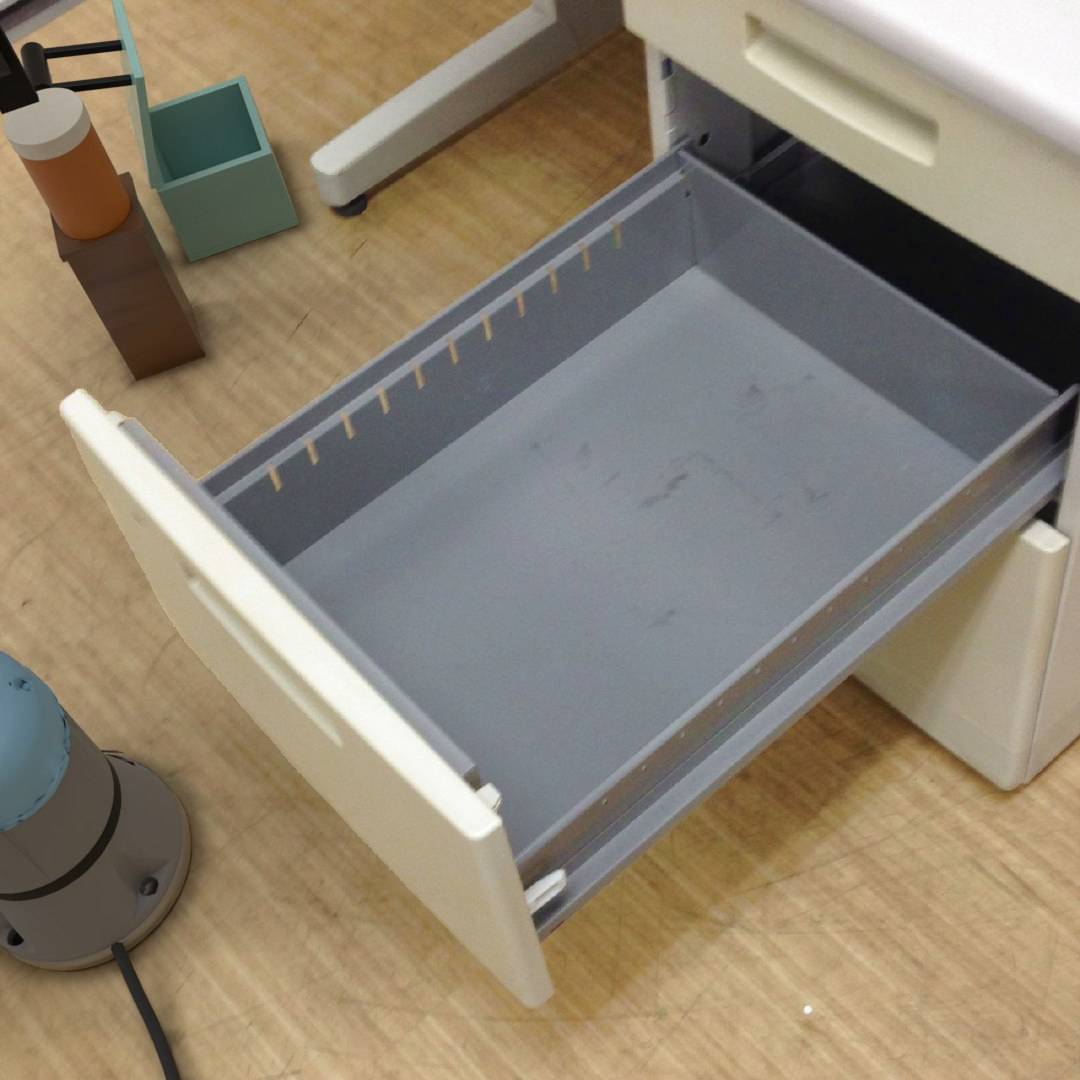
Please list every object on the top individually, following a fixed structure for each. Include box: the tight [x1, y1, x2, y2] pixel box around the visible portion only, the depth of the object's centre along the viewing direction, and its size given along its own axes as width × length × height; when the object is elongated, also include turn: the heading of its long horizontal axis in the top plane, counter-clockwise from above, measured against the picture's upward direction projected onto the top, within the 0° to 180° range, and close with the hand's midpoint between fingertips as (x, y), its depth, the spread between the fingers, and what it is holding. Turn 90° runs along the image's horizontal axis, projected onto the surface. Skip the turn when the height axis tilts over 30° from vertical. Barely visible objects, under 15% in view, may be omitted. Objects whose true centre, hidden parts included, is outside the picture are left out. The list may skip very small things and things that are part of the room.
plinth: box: [48, 171, 206, 381], centre depth 128 cm, size 7×7×16 cm
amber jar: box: [2, 88, 130, 240], centre depth 117 cm, size 6×6×10 cm
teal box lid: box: [19, 0, 160, 190], centre depth 130 cm, size 11×12×9 cm
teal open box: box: [148, 74, 300, 263], centre depth 140 cm, size 11×12×9 cm
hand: (8, 47), depth 108 cm, fingers open, 13 cm apart
